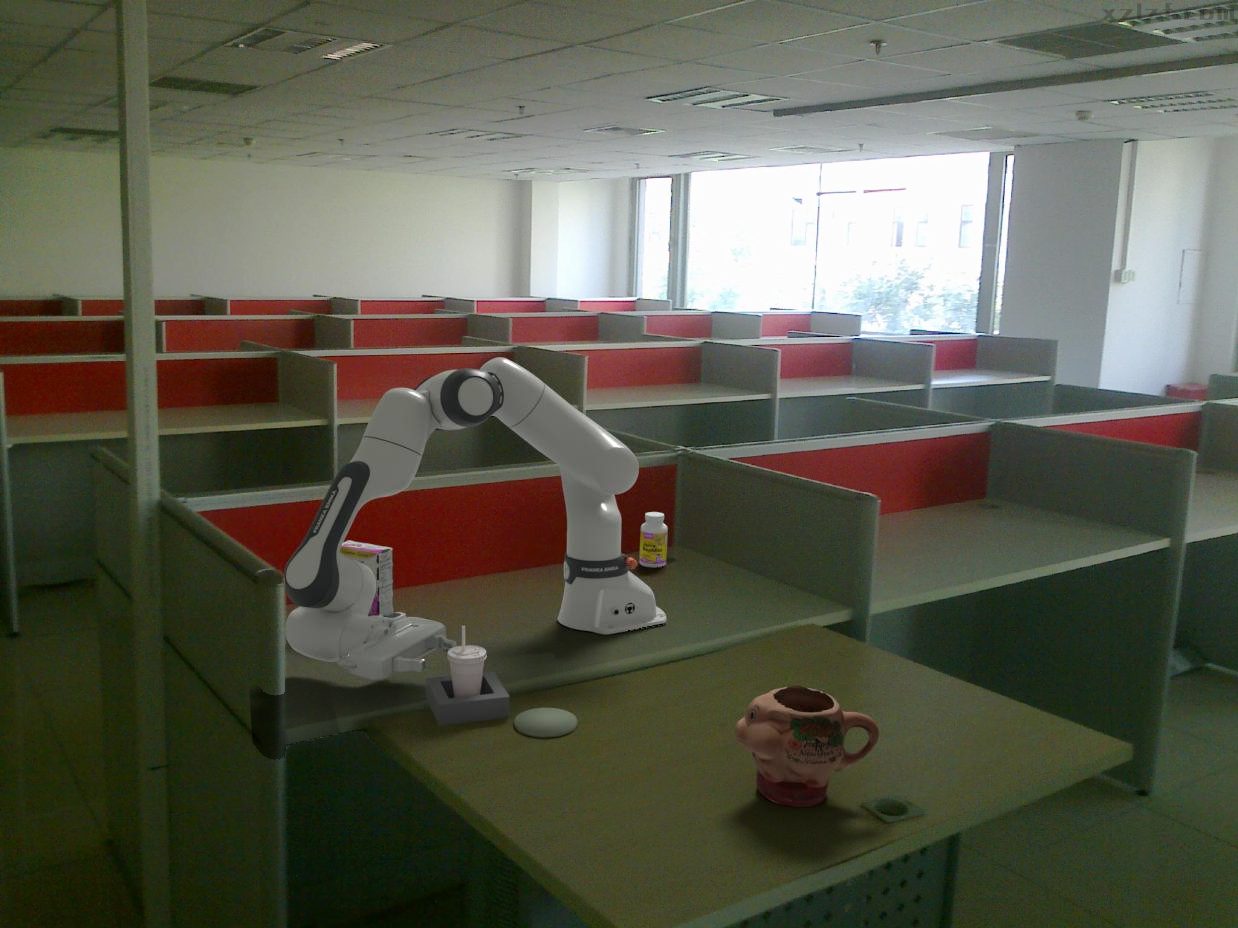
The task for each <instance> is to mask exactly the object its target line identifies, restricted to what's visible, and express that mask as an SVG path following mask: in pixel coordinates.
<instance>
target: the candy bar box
mask: <svg viewBox="0 0 1238 928" xmlns="http://www.w3.org/2000/svg"><path fill="white" fill-rule="evenodd" d="M393 554H394V551H393V547H389V546H384V545H379V544H373V543H372V544H371V543H367V542H360V541H355V540H349V539H348V540H346V541H345V540H344V541H343V544H342V546H341V548H340V556H342V557H345V558H348V559H352V560H355V561H357V562H360V563H363V564H365V565H367V566H368V567H370V568H371V569H372V571H373V572H374V574H375V576H376V580H377V592H376V596H375V599H374V602H373V605H372V607H371V610H370V613H369V615H368V616H380V615H386V614H390V613H394V577H393V575H394V567H393V566H394V558H393V556H394V555H393Z"/></svg>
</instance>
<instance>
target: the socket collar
mask: <svg viewBox="0 0 1238 928" xmlns="http://www.w3.org/2000/svg"><path fill="white" fill-rule="evenodd" d="M510 698H511V697H510V695H509V693H508V691H507V690H506V689H505V687H504V686H503V684H502V683H501V681H500V680H499V678H498V676H497V675H496V673H495V671H493V670H492V671H483V674H482V682H481V690H480V695H476V696H467V697H458V698H454V691H453V684H452V676H451V675H443V676H434V677H426V678H425V699H426V701H427V703H428V705H429V707H430V709H431V712H432V714H433V716H434V718H435V721H436V724H437V725H438V726H439V727H441V726H448V725H455V724H464V723H472V722H479V721H480V722H482V721H486V720H487V721H489V720H495V719H496V720H497V719H505V718H510V716H511V715H510V714H511V713H510V712H511V710H510V709H511V708H510V706H511V705H510V704H511V702H510V701H511V699H510Z"/></svg>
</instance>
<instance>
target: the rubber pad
mask: <svg viewBox="0 0 1238 928" xmlns="http://www.w3.org/2000/svg"><path fill="white" fill-rule="evenodd" d="M513 722H514V724H513V725H514V728H515V729H516V730H517V731H518V732H519V733H521V734H523V735H525V736H528V737H529V736H530V737H533V738H542V739H543V738H556V737H562V736H565V735H568V734H570V733H571V732H573V731H575V730H576V728H577V727H578V718H577V716H576V715H574V713H571V712H570V711H568V710H566V709H561V708H556V707H555V708H554V707H538V708H532V709H526V710H525V711H522V712H520V713H519V714H517V715H516V717H515V718H514V721H513Z"/></svg>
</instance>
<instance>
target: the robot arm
mask: <svg viewBox="0 0 1238 928" xmlns="http://www.w3.org/2000/svg"><path fill="white" fill-rule="evenodd" d="M492 416H494V417H496V418H497V419H498V420H499V421H500V422H501V423H503V424H504V425H505V426H506V427H508V429H510V430H511V431H513V432H514V433H515V434H517V436H519V437H520V438H521V439H523V440H524V441H525V442H526V443H528V444H529V446H532V447H533V448H534V449H535V450H536V451H538V452H540V453H541V454H543V455H544V457H547V458H549V459H550V460H551V461H552V462H554V463H555V464H557V466H558V469H559V472H560V478H561V486H562V492H563V497H564V502H565V509H566V522H567V523H566V526H567V527H566V528H567V529H566V552H565V553H564V561H563V579H564V588H563V589H564V591H563V597H562V601H561V605H560V610H559V614H558V616H557V621H558V622H559V623H560V624H561V625H563V626H564V627H567V628H570V629H574V630H580V631H587V632H592V633H595V634H599V635H613V634H617V633H618V634H619V633H623V632H628V630H630V631H633V630H634V629H635V630H639V628H641V629H643V628H642V627H646V628H648V627H647V626H652V625H655V624H661V623H665V622H666V623H667V621H666V620H667V615H666V612H664V610H662V609H661V608H659V607H658V606H657V605H656V597H655V594H654V592H653V590H652V589H651V587H650V586H649V585H647V584H646V583H645V582H644V581H643V580H642V579H640V578H639V577H638V576H636V575H635V574H634V573H633V572H631V571H630V570H629V569H631V570H634V569H636V567H637V566H638V561H637V559H634V558H633V557H632V556H630V557H629V556H627V555H626V554H625V553H622V549H621V548H622V515H621V512H620V510H619V507H618V503H617V499H616V496H615V495H620V494H623V493H625V492H627V491H629V490H630V489H631V488H632V487H633V486H634V485H635V483H636V481H637V479H638V477H639V473H640V472H639V471H640V466H639V465H640V464H639V460H638V458H637V456H636V455H635V454H634V452H633V451H632V450H631V449H630V448H629V447H628V446H627V445H626V444H625V443H623V442H622V441H621V440H619V439H618V438H617V437H615V436H614V435H613V434H611V432H609V431H608V430H606V429H605V428H604V427H602V426H601V425H599V424H598V423H597V422H595V421H594V420H592V418H590V417H589V416H587V415H585V414H584V413H582V412H581V410H578V409H577V408H575V407H574V406H573V405H571V404H570V403H569V402H568V401H567V400H566V399H564V398H563V397H561V395H560V394H558V393H557V392H556V391H554V390H553V389H552V388H551V387H549V386H548V385H547V384H546V383H545V382H543V381H542V379H540V378H539V377H537V376H536V375H535V374H533V373H531V372H530V371H529V370H528V369H526V368H524V367H523V366H521V365H519V364H517V363H516V362H514V361H512V360H510V359H508V358H506V357H501V356H500V357H493V358H492V359H490V360H488V361H487V362H485V363H484V364H483V365H482V366H481V367H480V368H479V369H476V368H468V367H465V368H459V369H450V370H449V369H448V370H445V371H442V372H439V373H438V374H434V375H431V376H429V377H427V378H425V379H423V380H422V381H420V383H419V384H418V385H415V387H414V388H413V389H412V388H408V387H394V388H390V389H389V390H387V391H386V392H385V393H384V394H383V395H382V397H381V398H380V400H379V402H378V403H377V405H376V407H375V409H374V410H373V413H372V415H371V416H370V419H369V421H368V424H367V426H366V428H365V430H364V433H363V435H362V438H361V442H360V444H359V446H358V447H357V450H356V451H355V453H354V455H353V457H352V459H350V461H349V462H348V463H346V464H345V465H344V466H342V467H341V469H340V470H339V471H338V472H337V474H336V476H335V477H334V479H333V481H332V482H331V484H330V486H329V488H328V491H327V492H326V494H325V496H324V498H323V500H322V503H321V504H320V507H319V508H318V510H317V512H316V514H315V516H314V519H313V520H312V522H311V524H310V526H309V529H308V530H307V533H306V535H305V536H304V538H303V540H302V541H301V542H300V544H299V545H298V546H297V548H296V549H295V551H294V552H292V553H293V554H292V555H291V556H290V558H289V559H288V561H287V563H286V564H285V567H284V571H283V575H282V577H283V576H284V577H285V589H284V591H285V594H286V596H287V597H288V599H289V600H290V602H292V603H293V604H294V605H296V606H298V607H296V608H295V609H293V610H292V611H291V612H290V613H289V614H288V617H287V618H286V621H285V637H286V640H287V642H288V644H289V646H290V647H291V648H292V649H293V650H294V651H295V652H297V653H299V654H301V655H303V656H306V657H308V658H311V659H314V660H315V659H316V660H320V661H322V662H323V661H324V662H327V663H328V662H329V663H334V662H337V665H338V667H340V668H343V669H348V672H349V673H350V674H351V675H355V676H356V677H360V678H363V679H366V680H370V681H382V680H384V679H387V678H388V677H390V676H392V675H393V674H395V673H396V672H398V673H405V672H411V671H412V672H417V673H420V672H422V671H423V670H425V669H426V660H425V659H424V658H422V657H424V656H427V655H428V654H430V653H432V652H434V651H435V650H439V649H442V650H443V651H442V652H443V653H446V654H448V651H449V650H450V649H451V648H454V647H457V641H456V640H453V639H448V638H447V635H446V634H447V629H446V626H445V625H444V624H443V623H442V622H439V621H435V620H432V619H426V618H422V617H416V616H407V614H406V613H405V612H402V611H396V612H393V613H390V614H386V615H380V616H368V615H369V613H370V610H371V607H372V605H373V602H374V599H375V596H376V592H377V580H376V576H375V574H374V572H373V571H372V569H371V568H370V567H368V566H367V565H365V564H363V563H360V562H357V561H355V560H352V559H348V558H345V557H342V556H340V548H341V546H342V544H343V542H345V539H346V537H347V535H348V533H349V531H350V529H351V527H352V524H353V523H354V521H355V518H356V516H357V514H358V512H359V511H360V510H361V508H362V507H363V506H364V505H366V504H367V503H368V502H370V501H372V500H375V499H381V498H386V497H391V496H394V495H397V494H400V493H401V492H403V491H405V490H406V489H407V488H408V487H409V486H410V485H411V483H412V482H413V480H414V479H415V476H416V475H417V472H418V470H419V467H420V464H421V460H422V458H423V456H424V455H423V454H424V451H425V449H426V448H425V447H426V445H427V442H428V440H429V439H430V436H431V435H432V434H433V432H434V431H445V430H446V431H458V430H462V429H465V428H472V427H476V426H479V425H481V424H483V423H484V422H486V421H488V419H490V417H492ZM666 623H665V624H666ZM652 627H653V626H652Z"/></svg>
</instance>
